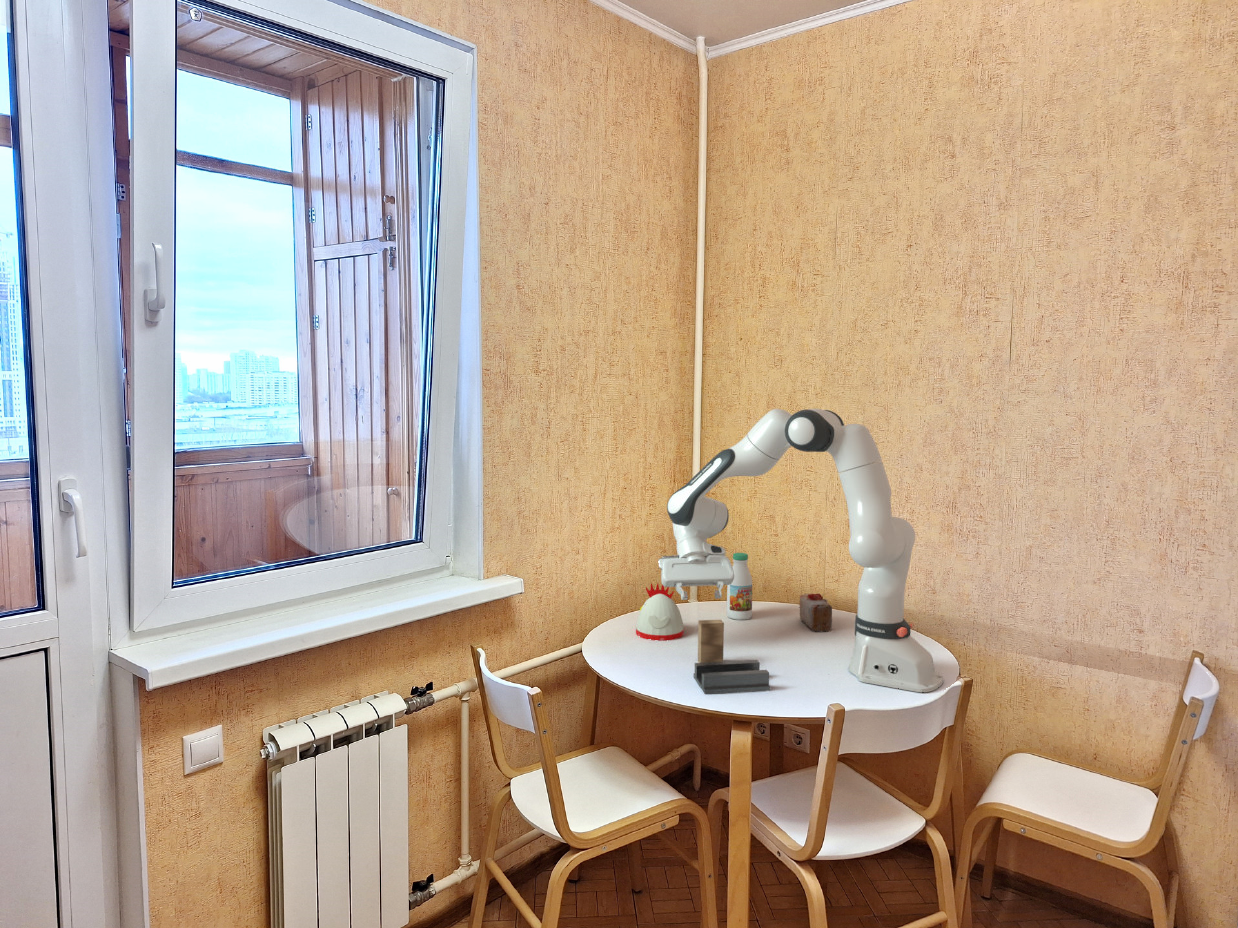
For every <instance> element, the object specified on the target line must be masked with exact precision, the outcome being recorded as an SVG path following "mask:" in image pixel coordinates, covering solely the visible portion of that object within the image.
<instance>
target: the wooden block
mask: <svg viewBox="0 0 1238 928" xmlns="http://www.w3.org/2000/svg"><path fill="white" fill-rule="evenodd" d="M697 627H698V629H697V631H698V633H697V636H698V637H697V663H704V662H723V661H724V643H725V641H724V636H725V623H724V622H723V620H722V619H705V620H704V619H703V620H702V619H700V620H699V619H698V626H697Z"/></svg>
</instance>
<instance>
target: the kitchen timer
mask: <svg viewBox="0 0 1238 928" xmlns="http://www.w3.org/2000/svg"><path fill="white" fill-rule="evenodd" d="M645 590H646V593H647V595H648V597H649V598H648V599H646V600H645V602H644V603H643V605H642V606H641V607H640V608H639V613H638V616H637V621H636V625H635V634H636V636H637V637H639V636H640V637H639V638H641V639H645V640H648V639H651V640H650V641H655V640H658V641H657V642H659V641H660V642H661V641H662V642H667V640H668V641H674V640H678V639H680V638H682V637H683V636H684V628H685V627H684V622H683V618H682V614H681V611H680V609H679V607H678V605H677V604H676V602H675V600H673V599H672V597H673V596H674V592H675V591H674V590H673V591H672V592H671V593H670V594H668V593H669V590H670V587H666V589H665V587H664V586H663V585H662V584H661V589H660V585H659V582H657V583H656V589H654V585H653V583H652V582H651V583H650V589H648V587H647V586H646V587H645Z"/></svg>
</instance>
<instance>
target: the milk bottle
mask: <svg viewBox="0 0 1238 928" xmlns="http://www.w3.org/2000/svg"><path fill="white" fill-rule="evenodd" d="M732 561H733V563H732V567H733V571H734V580H733V582H732V583H731V584H730V585H726V586H727V589H726V591H727V592H726V616H727V618H728V619H732V620H737V621H746V620H750V619H751V618H752V615H753V578H752V575H751V571H750V570H749V566H748V562H749V555H748V553H745V552H734V553H733V555H732Z"/></svg>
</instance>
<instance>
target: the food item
mask: <svg viewBox="0 0 1238 928" xmlns="http://www.w3.org/2000/svg"><path fill="white" fill-rule="evenodd" d="M823 596H824V595H822V594H820V593H805V594H800V597H799V604H798V605H799V607H798V608H799V619H800V621H802V622H803V623H804V624H805V625H806V626H807V627H808V628H810V629H811V631H812V632H815V633H817V632H819V633H821V631H822V632H823V631H827V633H828V632H829V631H830V632H832V630H833V628H832V627H833V606H832V605H831V604H829V603H828V599H826V598H824V597H823ZM823 633H824V632H823Z"/></svg>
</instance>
